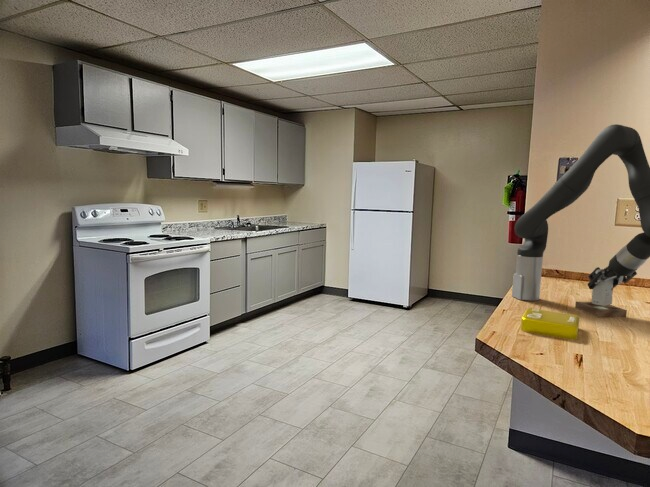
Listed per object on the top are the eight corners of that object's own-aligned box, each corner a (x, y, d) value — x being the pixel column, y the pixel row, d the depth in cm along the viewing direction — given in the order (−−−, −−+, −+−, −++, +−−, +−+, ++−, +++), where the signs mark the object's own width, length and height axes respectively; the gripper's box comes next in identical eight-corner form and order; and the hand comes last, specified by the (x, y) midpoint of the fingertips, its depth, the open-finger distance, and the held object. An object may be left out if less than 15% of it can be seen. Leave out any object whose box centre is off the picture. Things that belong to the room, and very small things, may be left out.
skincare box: (604, 306, 148) (607, 271, 146) (590, 303, 151) (593, 269, 150) (612, 304, 151) (615, 270, 150) (598, 301, 155) (601, 268, 153)
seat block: (598, 317, 145) (599, 310, 145) (575, 308, 157) (575, 301, 157) (626, 317, 146) (626, 310, 146) (600, 308, 158) (601, 301, 158)
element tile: (576, 342, 121) (578, 325, 121) (519, 332, 129) (520, 316, 129) (578, 328, 134) (579, 313, 133) (526, 320, 142) (527, 306, 141)
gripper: (643, 250, 142) (613, 278, 155) (603, 250, 141) (576, 278, 154) (655, 268, 138) (623, 296, 151) (613, 268, 136) (585, 296, 149)
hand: (599, 287), depth 152 cm, fingers closed on skincare box, 7 cm apart
